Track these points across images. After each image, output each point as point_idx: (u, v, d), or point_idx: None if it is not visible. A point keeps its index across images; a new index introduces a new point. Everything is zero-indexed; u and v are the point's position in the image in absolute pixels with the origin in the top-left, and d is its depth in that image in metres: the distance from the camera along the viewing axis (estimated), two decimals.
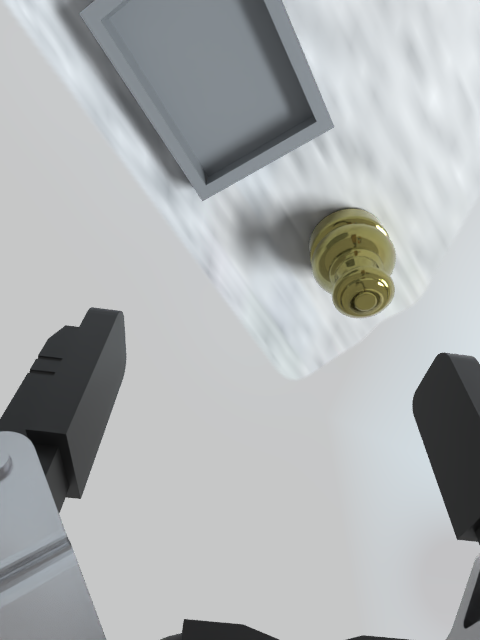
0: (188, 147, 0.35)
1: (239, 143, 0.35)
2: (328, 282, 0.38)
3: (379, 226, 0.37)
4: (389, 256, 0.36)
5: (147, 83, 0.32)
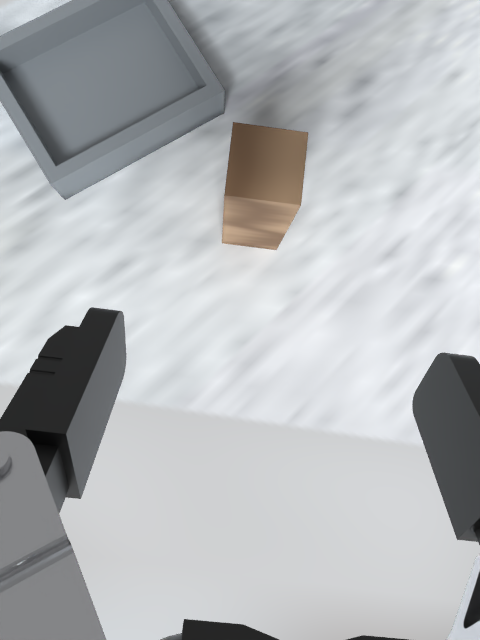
0: (34, 53, 0.33)
1: (38, 107, 0.33)
2: None
3: None
4: None
5: (93, 21, 0.34)
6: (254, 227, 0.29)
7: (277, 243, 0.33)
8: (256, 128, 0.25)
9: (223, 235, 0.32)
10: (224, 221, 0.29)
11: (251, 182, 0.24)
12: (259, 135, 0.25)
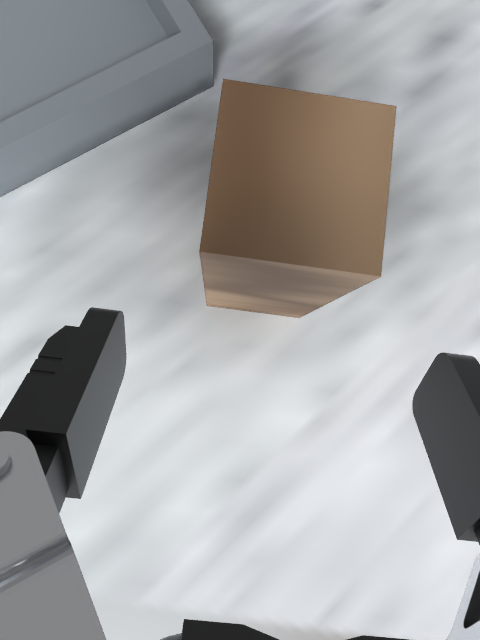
0: None
1: None
2: None
3: None
4: None
5: None
6: (264, 295, 0.15)
7: (303, 313, 0.18)
8: (277, 93, 0.11)
9: (207, 299, 0.18)
10: (206, 285, 0.15)
11: (265, 221, 0.10)
12: (284, 110, 0.11)
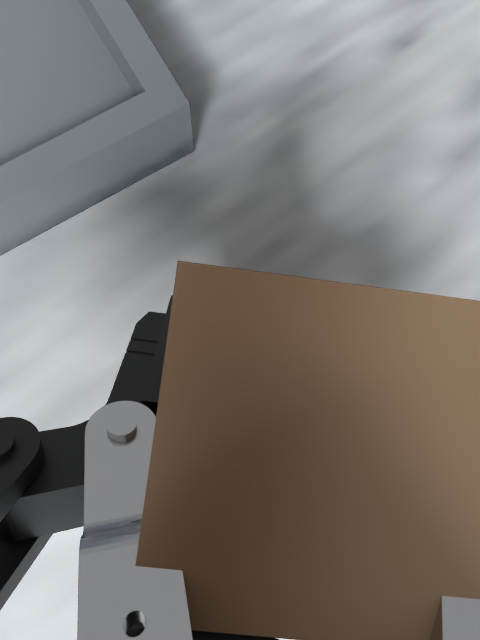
0: None
1: None
2: None
3: None
4: None
5: None
6: None
7: None
8: (282, 286, 0.06)
9: None
10: None
11: (258, 552, 0.05)
12: (295, 320, 0.06)
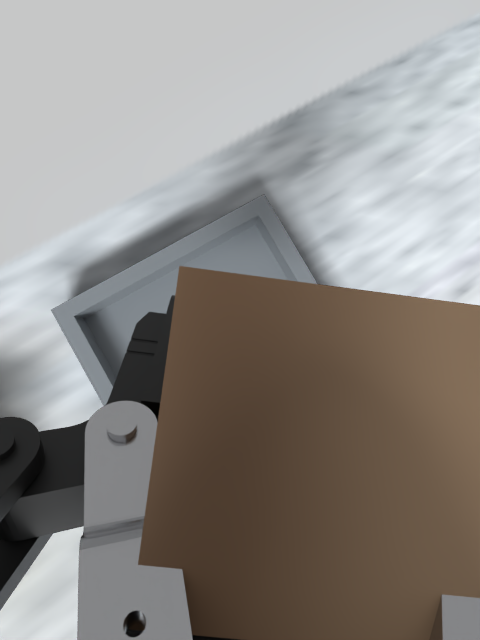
0: (123, 296, 0.27)
1: None
2: None
3: None
4: None
5: (196, 255, 0.27)
6: None
7: None
8: (283, 291, 0.06)
9: None
10: None
11: (260, 558, 0.05)
12: (296, 326, 0.06)
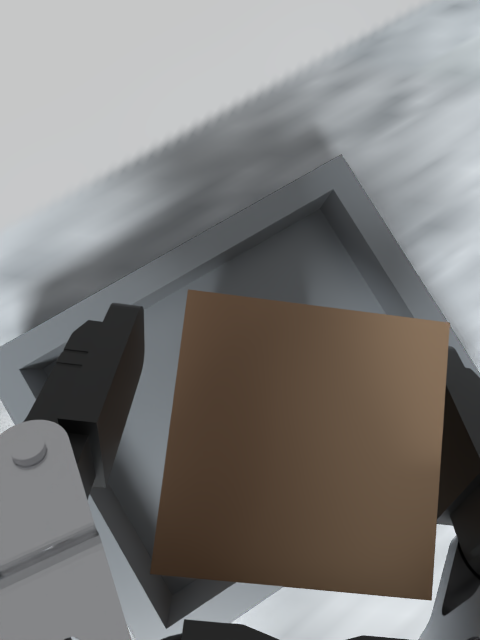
0: None
1: None
2: None
3: None
4: None
5: (227, 259, 0.17)
6: None
7: None
8: (270, 309, 0.07)
9: None
10: None
11: (252, 519, 0.07)
12: (281, 336, 0.07)
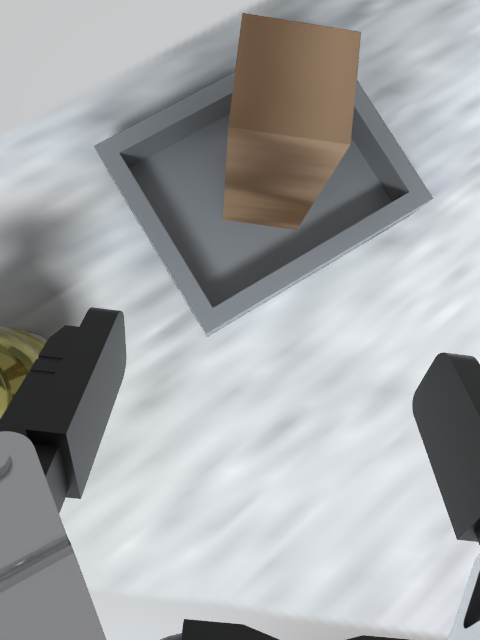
0: (169, 143, 0.25)
1: (175, 214, 0.25)
2: None
3: None
4: None
5: None
6: (270, 191, 0.20)
7: (300, 219, 0.23)
8: (279, 23, 0.16)
9: (225, 207, 0.23)
10: (227, 181, 0.20)
11: (272, 108, 0.15)
12: (284, 34, 0.16)
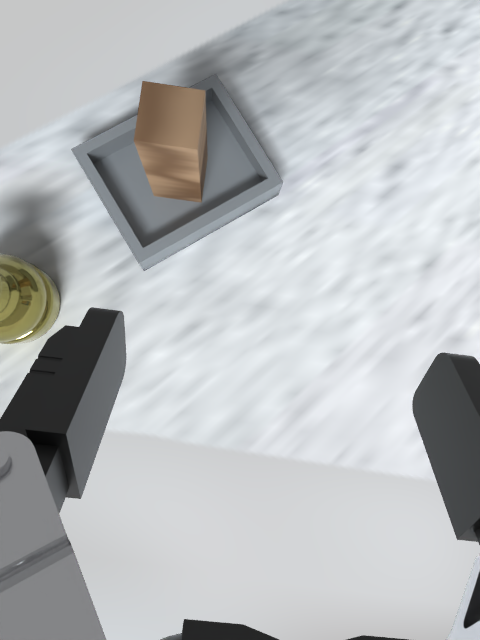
0: (120, 147, 0.39)
1: (123, 192, 0.39)
2: None
3: (41, 325, 0.36)
4: (8, 330, 0.34)
5: None
6: (172, 176, 0.34)
7: (198, 194, 0.38)
8: (162, 86, 0.30)
9: (151, 186, 0.37)
10: (145, 170, 0.34)
11: (156, 130, 0.30)
12: (164, 92, 0.30)
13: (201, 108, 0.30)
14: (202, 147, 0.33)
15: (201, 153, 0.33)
